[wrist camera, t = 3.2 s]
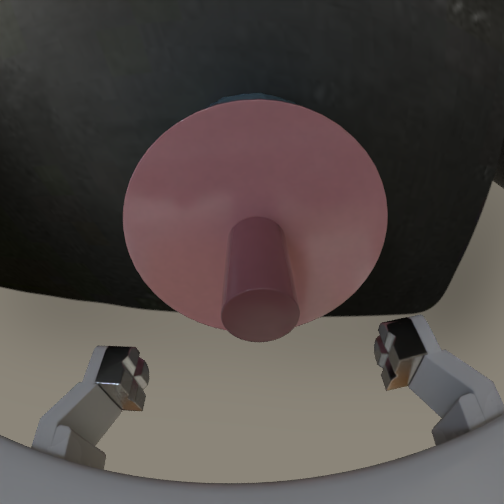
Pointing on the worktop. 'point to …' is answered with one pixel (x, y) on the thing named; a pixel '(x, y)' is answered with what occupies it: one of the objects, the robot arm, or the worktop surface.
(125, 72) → the worktop surface
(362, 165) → the cover plate
